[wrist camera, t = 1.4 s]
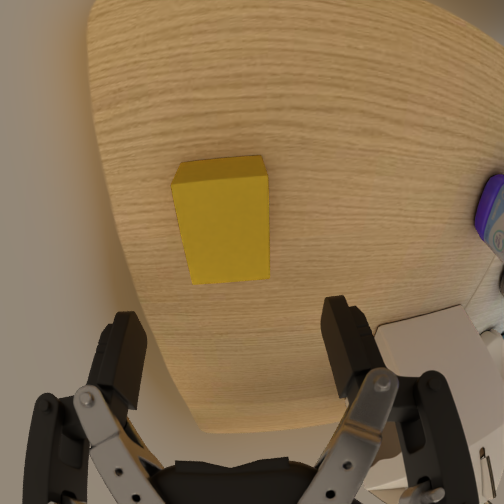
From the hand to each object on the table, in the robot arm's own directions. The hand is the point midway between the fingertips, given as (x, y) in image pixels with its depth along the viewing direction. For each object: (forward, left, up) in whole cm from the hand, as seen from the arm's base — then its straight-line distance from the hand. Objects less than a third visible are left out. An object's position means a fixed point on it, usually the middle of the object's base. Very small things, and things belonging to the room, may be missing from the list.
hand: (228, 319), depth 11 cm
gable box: (+26, +22, -9) cm, 35 cm away
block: (0, 0, -9) cm, 9 cm away
